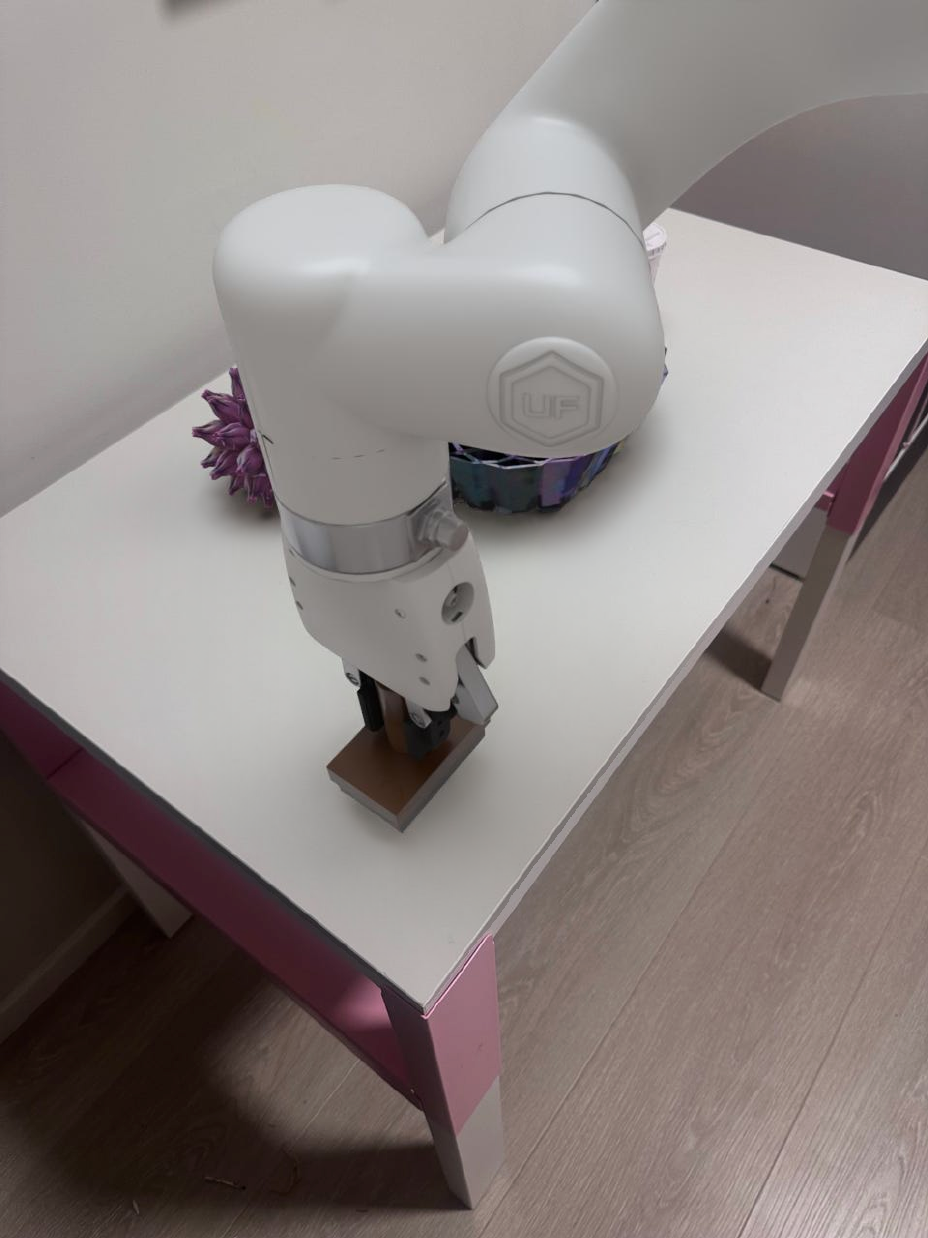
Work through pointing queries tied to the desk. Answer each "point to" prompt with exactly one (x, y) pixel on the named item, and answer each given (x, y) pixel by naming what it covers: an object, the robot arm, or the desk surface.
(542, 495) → the decorative bowl
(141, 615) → the desk surface
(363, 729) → the stamp
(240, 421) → the flower
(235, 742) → the desk surface
